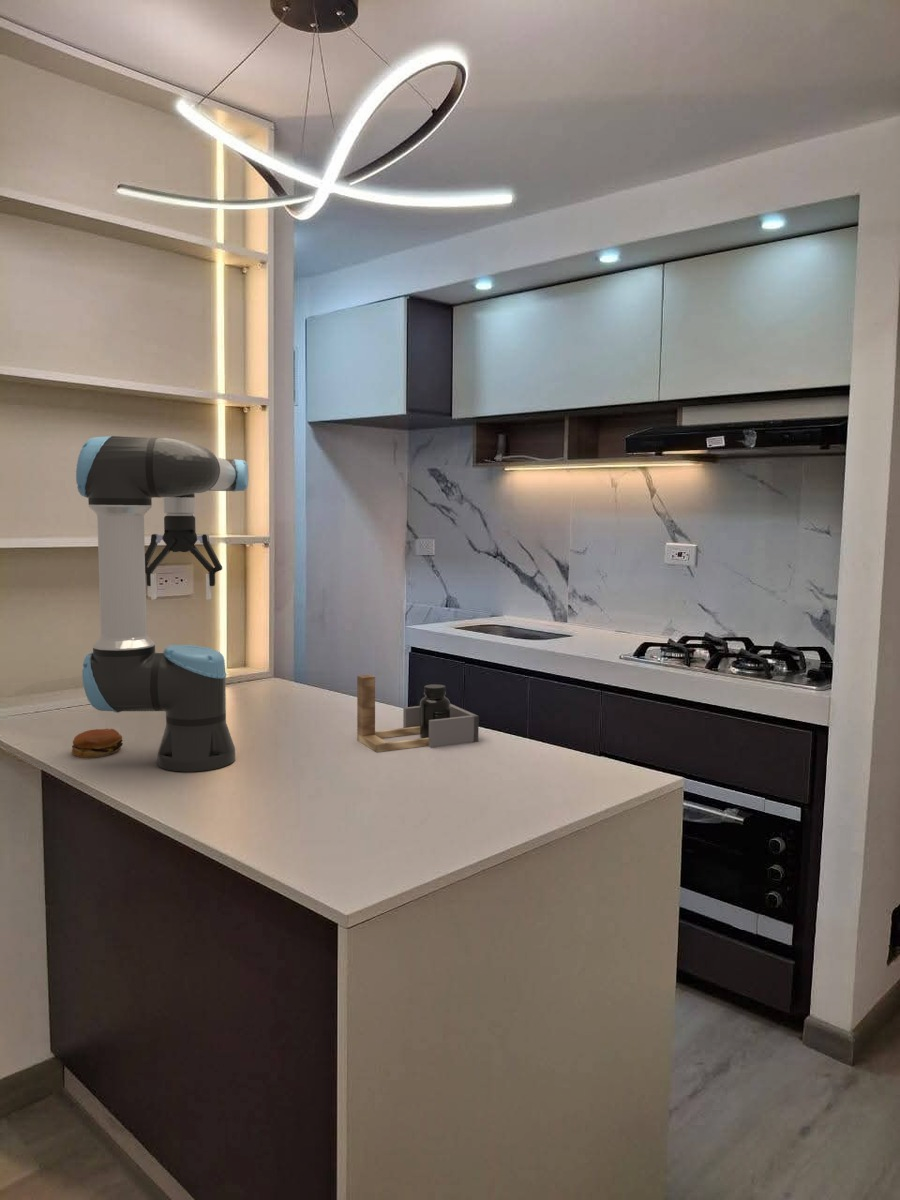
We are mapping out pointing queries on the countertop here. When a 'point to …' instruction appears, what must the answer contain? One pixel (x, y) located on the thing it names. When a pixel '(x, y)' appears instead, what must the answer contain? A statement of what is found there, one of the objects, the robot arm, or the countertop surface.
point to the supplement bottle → (433, 707)
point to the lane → (446, 726)
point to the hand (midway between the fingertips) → (181, 599)
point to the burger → (96, 743)
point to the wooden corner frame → (367, 722)
